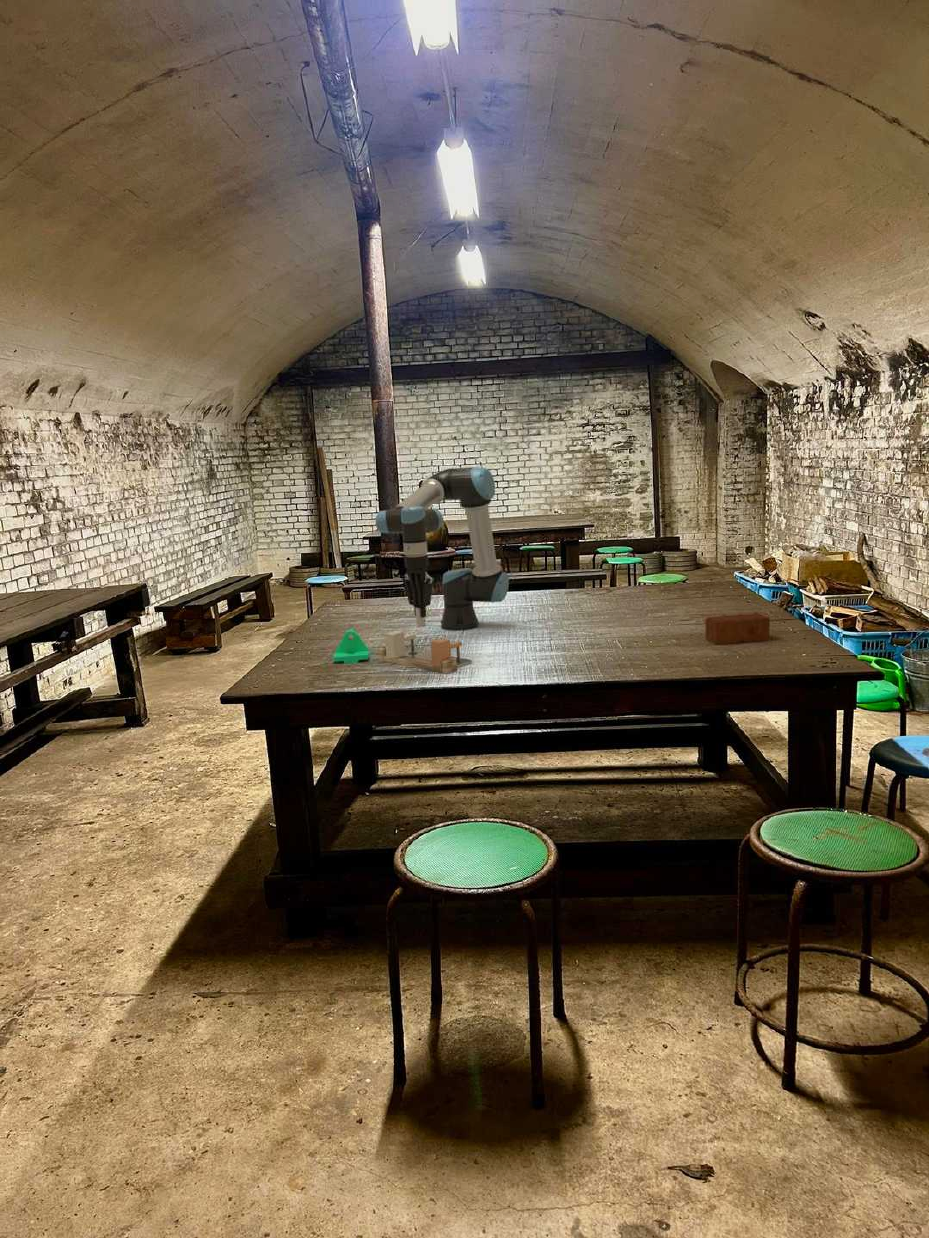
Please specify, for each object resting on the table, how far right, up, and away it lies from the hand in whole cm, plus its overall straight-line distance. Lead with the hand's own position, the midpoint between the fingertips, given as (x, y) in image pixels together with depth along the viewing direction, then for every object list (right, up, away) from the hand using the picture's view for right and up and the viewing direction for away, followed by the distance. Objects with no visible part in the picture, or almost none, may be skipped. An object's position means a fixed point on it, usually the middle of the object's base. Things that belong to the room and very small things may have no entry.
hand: (421, 626), depth 252 cm
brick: (+109, -5, +16) cm, 110 cm away
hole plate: (+4, -12, +10) cm, 16 cm away
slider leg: (+9, -12, -1) cm, 15 cm away
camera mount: (-25, -12, +16) cm, 32 cm away
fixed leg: (-7, -10, +13) cm, 18 cm away
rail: (-2, -13, +4) cm, 14 cm away
